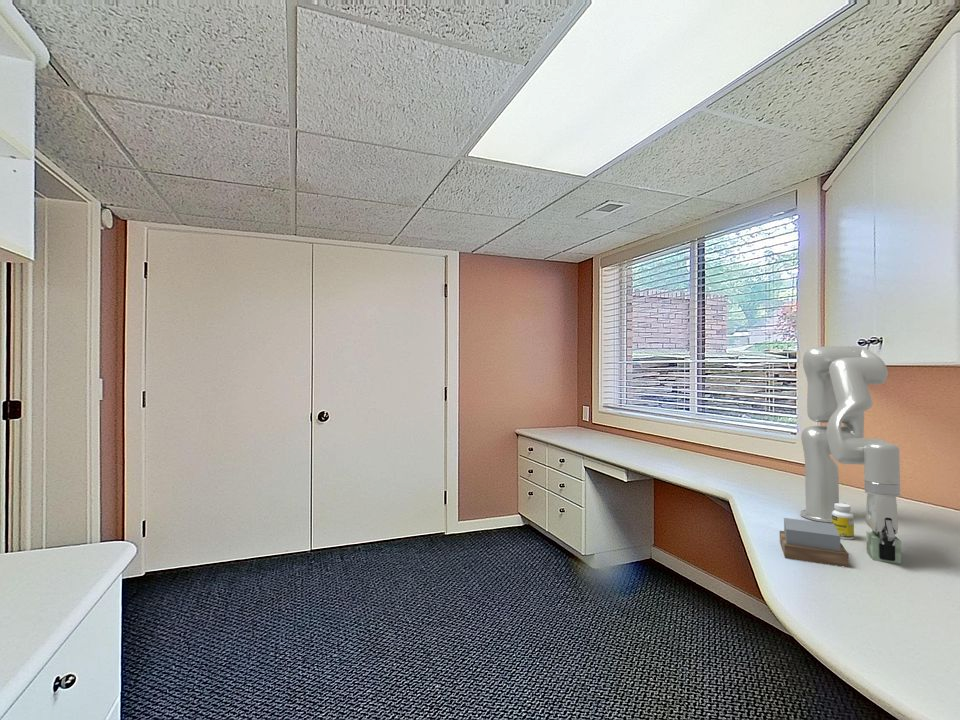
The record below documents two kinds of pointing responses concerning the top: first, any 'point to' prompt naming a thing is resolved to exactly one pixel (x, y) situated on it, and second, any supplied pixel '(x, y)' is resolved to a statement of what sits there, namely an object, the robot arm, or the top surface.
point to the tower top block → (811, 534)
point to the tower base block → (814, 553)
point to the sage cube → (873, 547)
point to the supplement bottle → (843, 520)
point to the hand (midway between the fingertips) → (883, 554)
